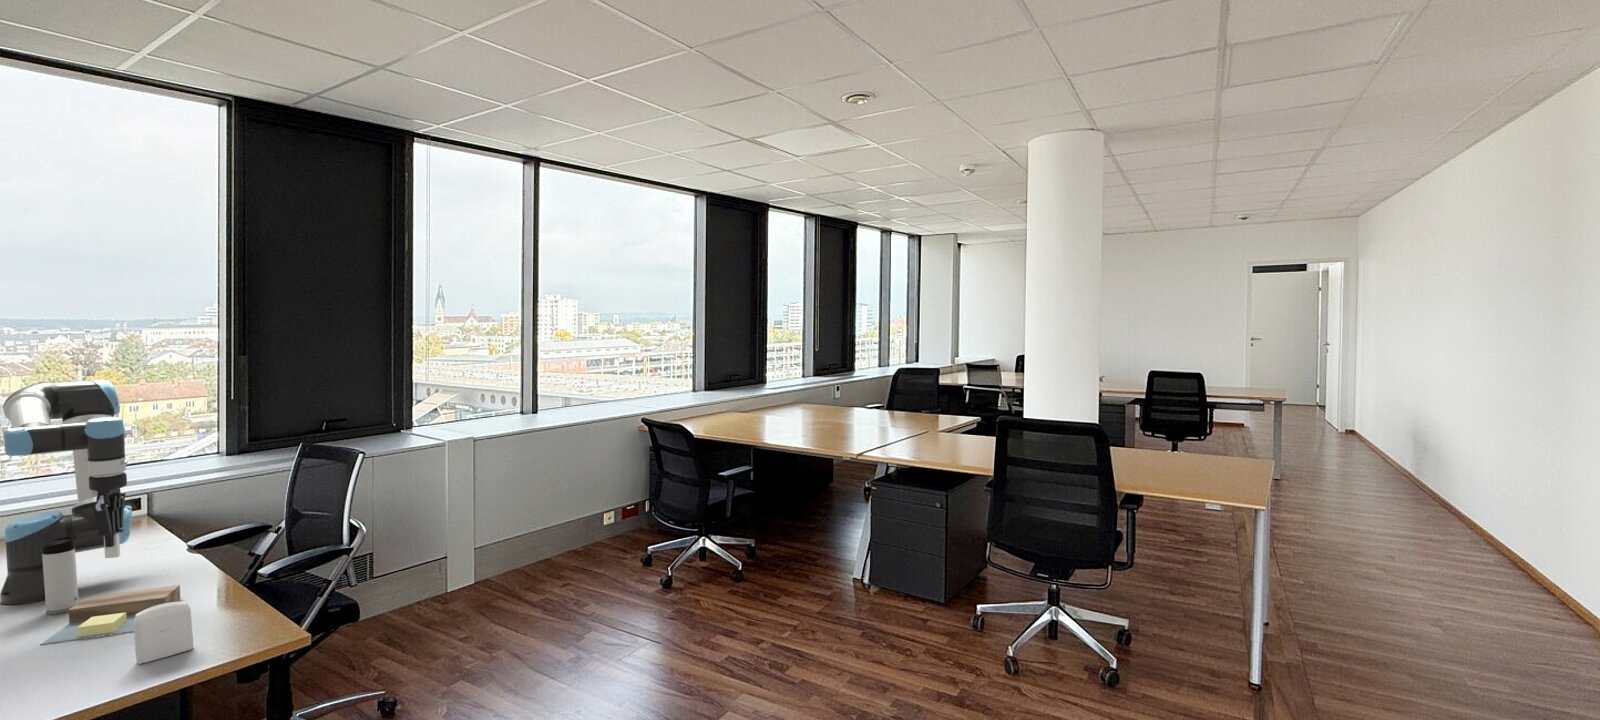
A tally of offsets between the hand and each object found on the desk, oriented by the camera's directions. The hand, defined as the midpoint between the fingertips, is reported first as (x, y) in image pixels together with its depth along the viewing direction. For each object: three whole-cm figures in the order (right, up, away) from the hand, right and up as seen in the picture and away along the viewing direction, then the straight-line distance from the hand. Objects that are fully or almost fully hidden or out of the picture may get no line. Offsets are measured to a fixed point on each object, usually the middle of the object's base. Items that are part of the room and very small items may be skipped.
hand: (112, 556), depth 198 cm
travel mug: (-13, -15, -1) cm, 19 cm away
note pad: (+12, -12, -15) cm, 22 cm away
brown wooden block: (+6, -14, -2) cm, 16 cm away
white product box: (+41, -16, -29) cm, 52 cm away
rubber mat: (+11, -15, -13) cm, 23 cm away
